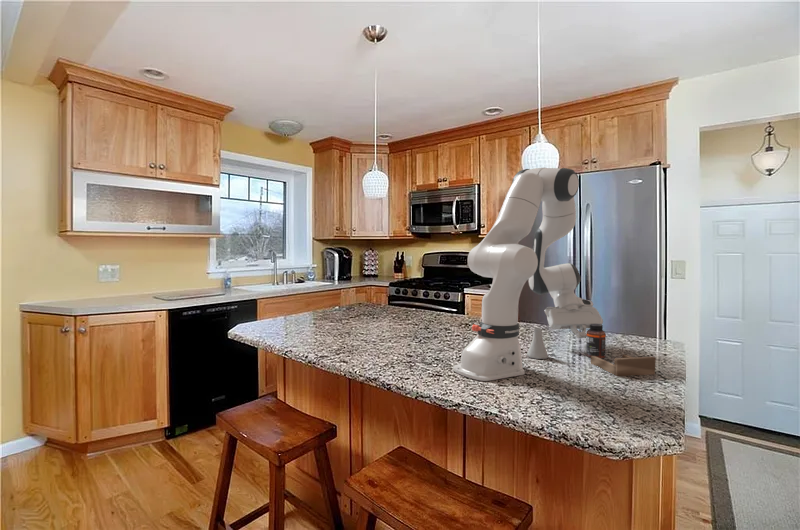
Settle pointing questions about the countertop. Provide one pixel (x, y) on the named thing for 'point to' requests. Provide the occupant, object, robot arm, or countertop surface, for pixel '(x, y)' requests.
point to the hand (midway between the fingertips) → (582, 337)
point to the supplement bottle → (596, 341)
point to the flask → (537, 345)
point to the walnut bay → (627, 365)
